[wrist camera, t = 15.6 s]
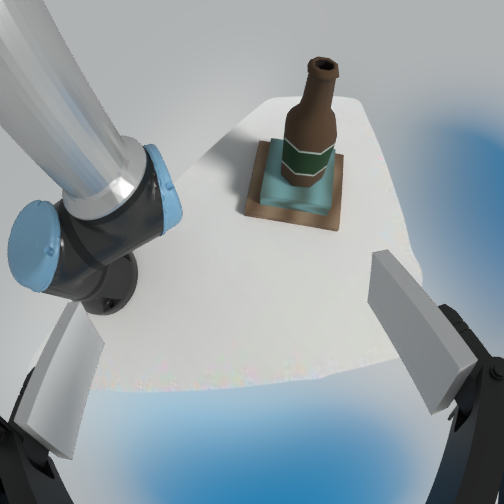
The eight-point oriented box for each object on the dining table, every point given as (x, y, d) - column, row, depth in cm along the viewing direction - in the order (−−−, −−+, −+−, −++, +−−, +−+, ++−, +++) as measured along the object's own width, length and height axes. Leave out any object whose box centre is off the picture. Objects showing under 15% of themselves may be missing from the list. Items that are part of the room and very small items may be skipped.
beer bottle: (287, 194, 49) (306, 90, 25) (273, 157, 51) (278, 48, 27) (330, 184, 49) (371, 83, 26) (313, 148, 51) (339, 43, 28)
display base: (244, 215, 54) (243, 203, 48) (259, 144, 58) (259, 128, 52) (337, 231, 52) (344, 220, 47) (341, 158, 57) (348, 143, 51)
